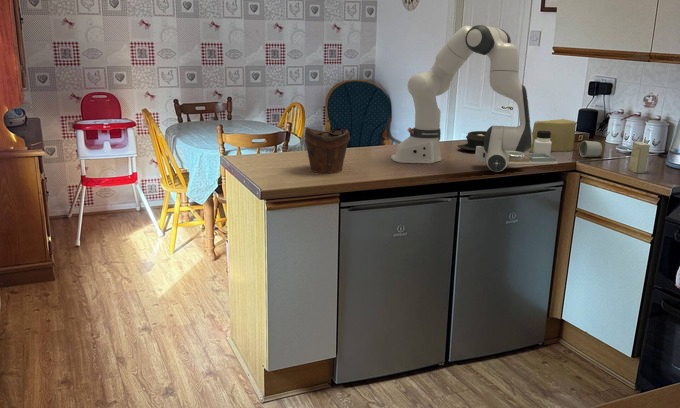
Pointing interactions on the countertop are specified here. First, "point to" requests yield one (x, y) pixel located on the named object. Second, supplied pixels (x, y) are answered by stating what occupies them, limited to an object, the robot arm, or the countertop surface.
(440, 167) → the countertop surface
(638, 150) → the skincare box
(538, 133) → the medicine bottle
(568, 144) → the cheese
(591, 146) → the ceramic mug
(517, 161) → the seat plate
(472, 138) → the casserole
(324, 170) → the wooden bucket
